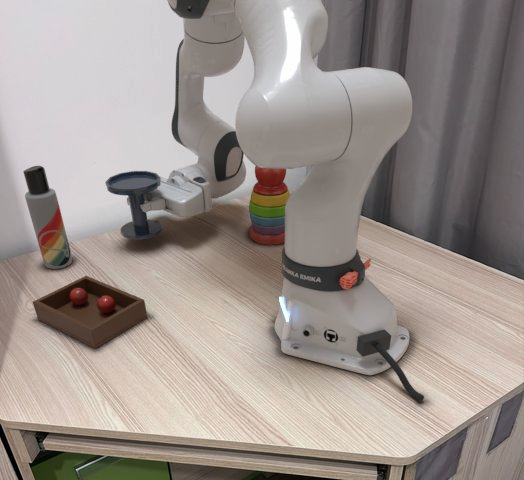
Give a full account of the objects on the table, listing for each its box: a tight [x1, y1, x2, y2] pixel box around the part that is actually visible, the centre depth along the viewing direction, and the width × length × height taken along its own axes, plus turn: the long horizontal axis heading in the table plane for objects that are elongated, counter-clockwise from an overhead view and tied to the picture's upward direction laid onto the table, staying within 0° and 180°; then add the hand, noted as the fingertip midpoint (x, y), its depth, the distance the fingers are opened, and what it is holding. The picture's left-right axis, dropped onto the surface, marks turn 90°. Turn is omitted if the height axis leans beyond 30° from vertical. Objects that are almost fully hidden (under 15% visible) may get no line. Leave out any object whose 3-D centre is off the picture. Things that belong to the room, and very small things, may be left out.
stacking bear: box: [248, 165, 291, 245], centre depth 117 cm, size 11×10×18 cm
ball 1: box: [69, 288, 88, 306], centre depth 97 cm, size 3×3×3 cm
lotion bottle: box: [23, 165, 73, 270], centre depth 107 cm, size 6×6×20 cm
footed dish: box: [105, 170, 163, 240], centre depth 115 cm, size 11×11×11 cm
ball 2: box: [97, 295, 116, 314], centre depth 95 cm, size 3×3×3 cm
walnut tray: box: [32, 275, 148, 349], centre depth 94 cm, size 16×12×4 cm
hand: (135, 205), depth 114 cm, fingers closed on footed dish, 3 cm apart
